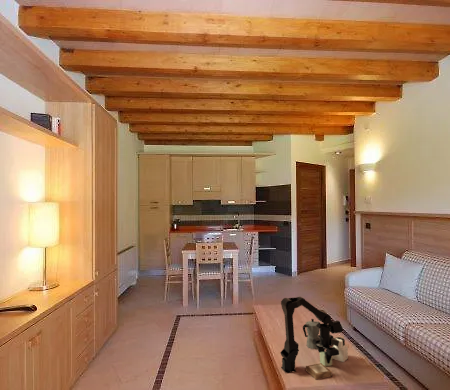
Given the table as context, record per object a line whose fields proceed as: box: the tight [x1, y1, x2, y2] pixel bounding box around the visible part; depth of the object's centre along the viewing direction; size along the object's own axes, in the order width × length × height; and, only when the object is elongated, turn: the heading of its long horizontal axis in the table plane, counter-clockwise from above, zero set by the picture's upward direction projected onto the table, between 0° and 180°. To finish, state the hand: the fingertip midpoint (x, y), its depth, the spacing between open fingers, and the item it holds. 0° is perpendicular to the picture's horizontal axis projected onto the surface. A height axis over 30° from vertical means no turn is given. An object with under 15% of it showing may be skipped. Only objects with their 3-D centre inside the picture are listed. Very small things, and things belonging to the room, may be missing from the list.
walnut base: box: [305, 362, 333, 380], centre depth 175 cm, size 10×10×3 cm
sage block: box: [319, 350, 333, 367], centre depth 186 cm, size 5×5×6 cm
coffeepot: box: [302, 318, 321, 350], centre depth 210 cm, size 15×9×18 cm, turn 119°
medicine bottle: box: [332, 336, 349, 363], centre depth 192 cm, size 7×7×12 cm
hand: (325, 361), depth 186 cm, fingers closed on sage block, 5 cm apart
